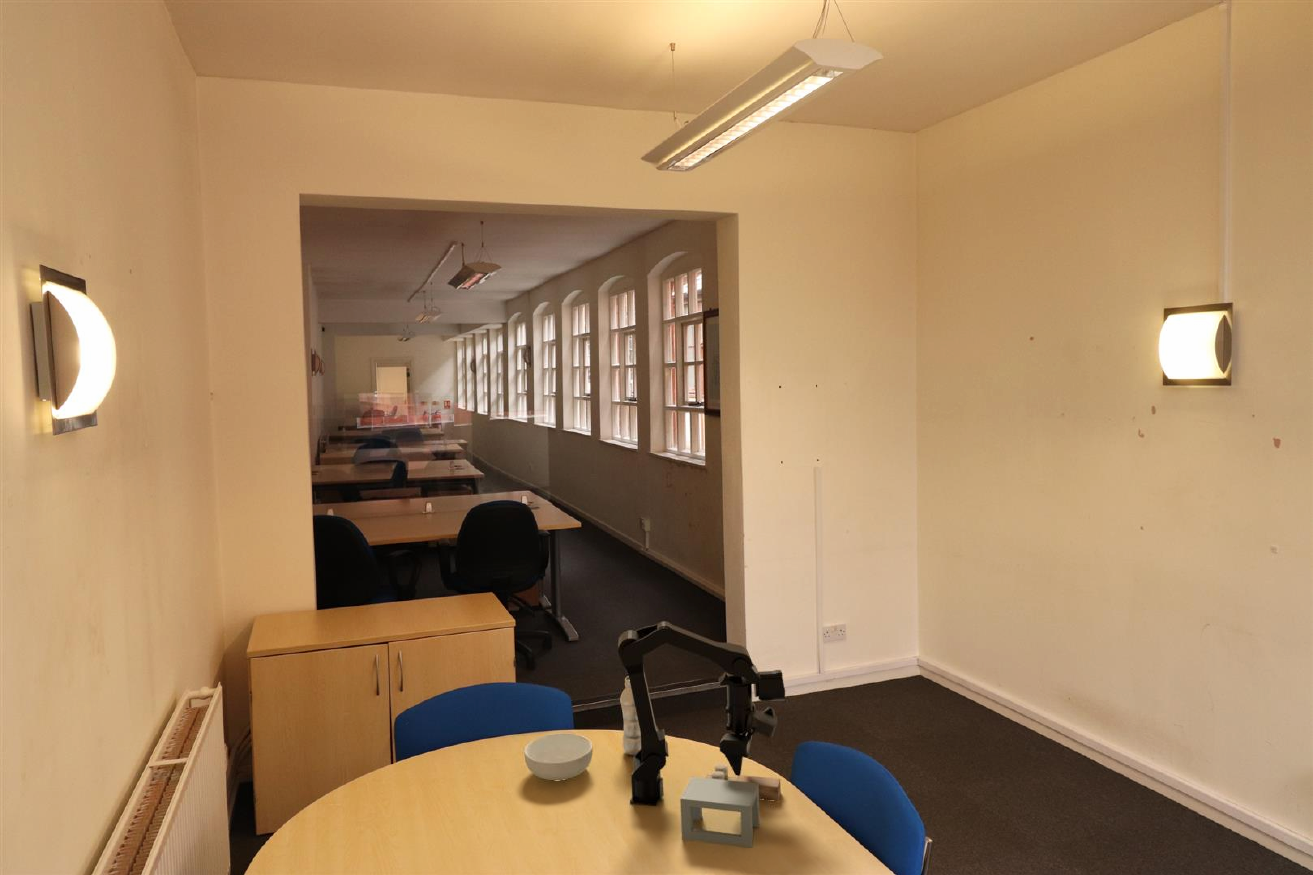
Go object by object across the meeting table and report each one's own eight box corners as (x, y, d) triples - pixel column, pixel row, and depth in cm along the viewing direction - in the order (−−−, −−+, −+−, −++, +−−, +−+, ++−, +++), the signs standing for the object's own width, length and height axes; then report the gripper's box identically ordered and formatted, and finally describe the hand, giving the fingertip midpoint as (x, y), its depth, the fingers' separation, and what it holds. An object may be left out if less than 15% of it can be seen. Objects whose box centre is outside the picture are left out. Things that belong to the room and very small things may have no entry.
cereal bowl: (540, 797, 205) (539, 768, 205) (516, 769, 220) (514, 742, 219) (605, 778, 214) (603, 750, 213) (577, 752, 228) (576, 726, 227)
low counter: (681, 838, 185) (680, 798, 184) (693, 814, 194) (691, 776, 194) (751, 847, 181) (750, 806, 180) (759, 822, 190) (758, 783, 189)
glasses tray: (781, 789, 204) (781, 769, 204) (777, 804, 197) (776, 783, 197) (707, 782, 209) (706, 762, 209) (700, 796, 203) (699, 775, 202)
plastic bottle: (645, 758, 223) (642, 683, 221) (619, 757, 224) (616, 682, 222) (650, 747, 229) (647, 674, 227) (625, 746, 231) (622, 673, 229)
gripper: (767, 720, 190) (769, 788, 191) (780, 688, 208) (782, 751, 209) (718, 716, 193) (720, 783, 195) (734, 685, 211) (736, 747, 212)
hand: (741, 765), depth 203 cm, fingers open, 9 cm apart
